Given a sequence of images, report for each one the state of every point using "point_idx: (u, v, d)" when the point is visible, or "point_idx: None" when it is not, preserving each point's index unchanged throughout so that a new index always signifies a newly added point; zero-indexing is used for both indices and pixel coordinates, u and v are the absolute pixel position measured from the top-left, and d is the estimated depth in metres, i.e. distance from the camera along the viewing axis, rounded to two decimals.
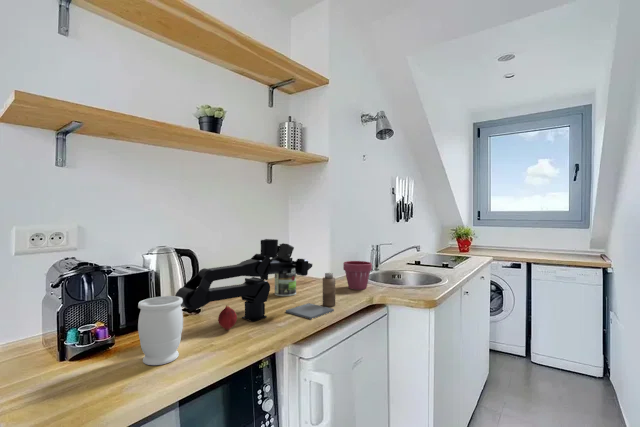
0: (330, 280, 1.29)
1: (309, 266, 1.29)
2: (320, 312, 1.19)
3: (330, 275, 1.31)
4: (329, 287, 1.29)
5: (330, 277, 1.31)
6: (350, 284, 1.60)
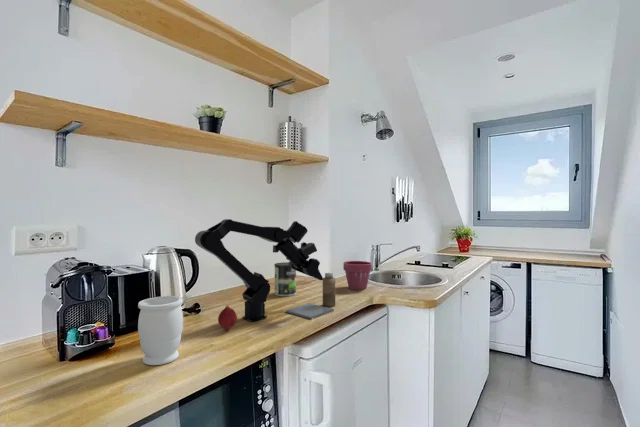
0: (330, 280, 1.29)
1: (318, 276, 1.24)
2: (320, 312, 1.19)
3: (330, 275, 1.31)
4: (329, 287, 1.29)
5: (330, 277, 1.31)
6: (350, 284, 1.60)
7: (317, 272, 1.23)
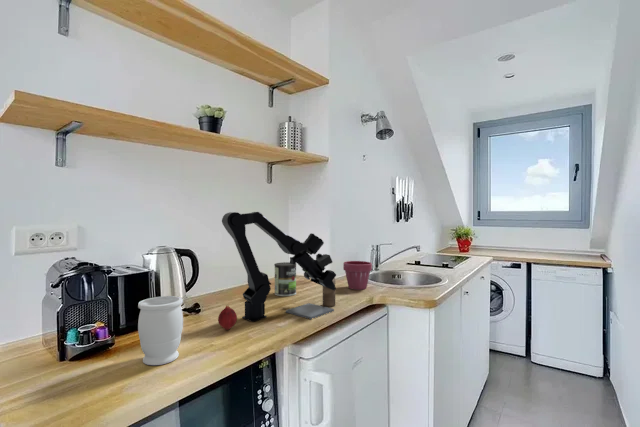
0: None
1: (332, 286, 1.28)
2: (320, 312, 1.19)
3: None
4: None
5: None
6: (350, 284, 1.60)
7: (331, 282, 1.28)
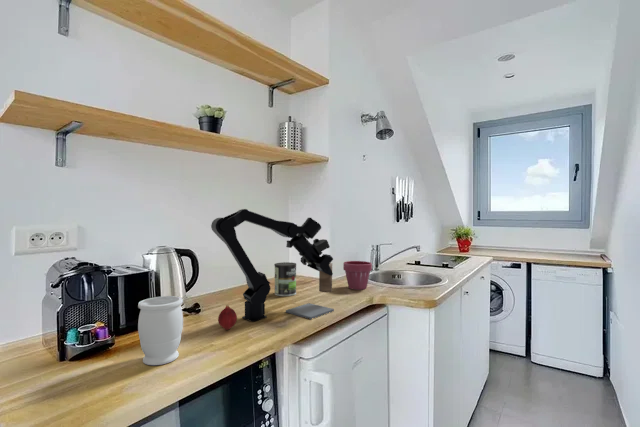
0: None
1: (328, 271, 1.27)
2: (320, 312, 1.19)
3: None
4: None
5: None
6: (350, 284, 1.60)
7: (327, 267, 1.27)
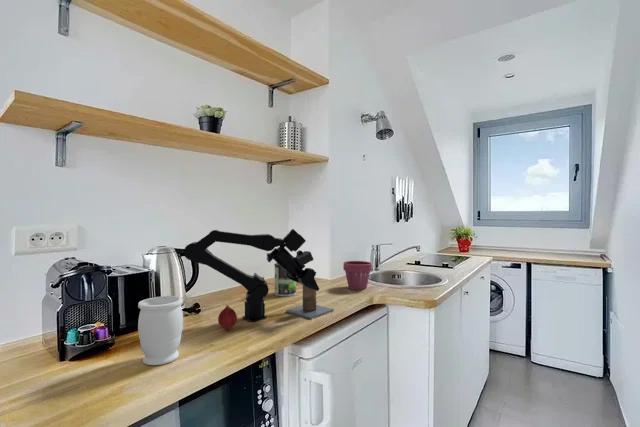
0: None
1: (314, 286, 1.18)
2: (320, 312, 1.19)
3: None
4: (309, 290, 1.20)
5: None
6: (350, 284, 1.60)
7: (313, 282, 1.17)
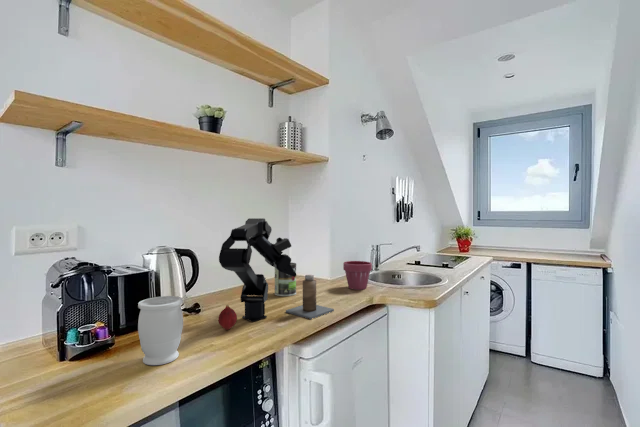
0: (310, 282, 1.21)
1: (291, 272, 1.21)
2: (320, 312, 1.19)
3: (310, 277, 1.22)
4: (309, 290, 1.21)
5: (310, 279, 1.22)
6: (350, 284, 1.60)
7: (289, 268, 1.21)
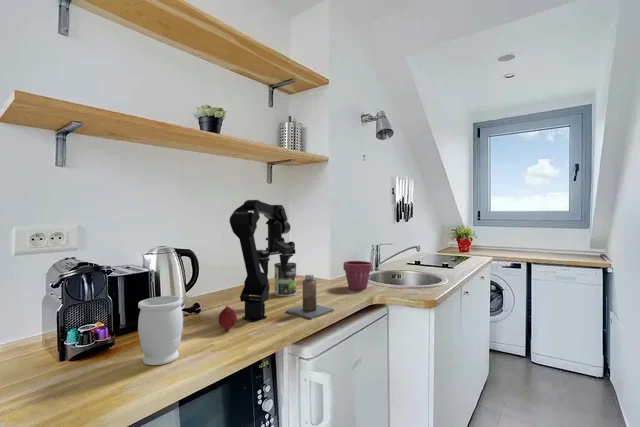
0: (310, 282, 1.21)
1: (264, 268, 1.28)
2: (320, 312, 1.19)
3: (310, 277, 1.22)
4: (309, 290, 1.21)
5: (310, 279, 1.22)
6: (350, 284, 1.60)
7: (264, 265, 1.28)
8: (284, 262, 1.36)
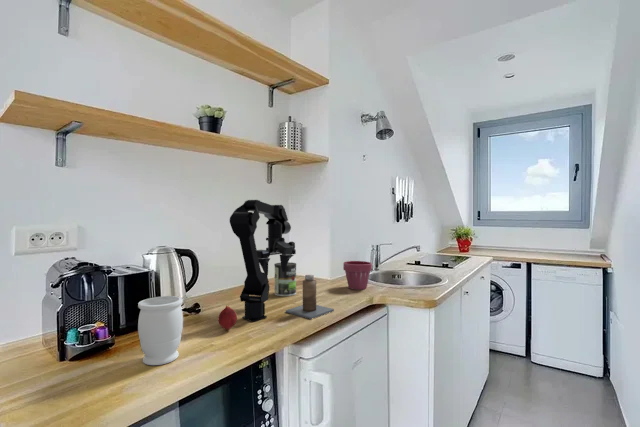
0: (310, 282, 1.21)
1: (264, 268, 1.28)
2: (320, 312, 1.19)
3: (310, 277, 1.22)
4: (309, 290, 1.21)
5: (310, 279, 1.22)
6: (350, 284, 1.60)
7: (264, 265, 1.28)
8: (284, 262, 1.36)
